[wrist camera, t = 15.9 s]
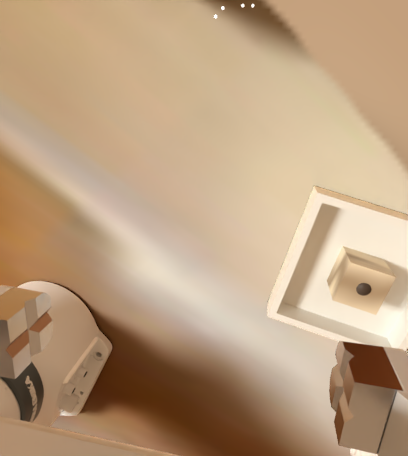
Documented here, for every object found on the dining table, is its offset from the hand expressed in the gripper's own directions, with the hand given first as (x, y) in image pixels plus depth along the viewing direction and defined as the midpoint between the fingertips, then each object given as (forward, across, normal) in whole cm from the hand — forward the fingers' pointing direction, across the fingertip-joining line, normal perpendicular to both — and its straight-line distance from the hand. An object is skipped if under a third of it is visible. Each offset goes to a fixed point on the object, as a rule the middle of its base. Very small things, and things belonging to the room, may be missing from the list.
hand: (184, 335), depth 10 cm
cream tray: (+31, -12, +10) cm, 35 cm away
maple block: (+30, -12, +10) cm, 35 cm away
